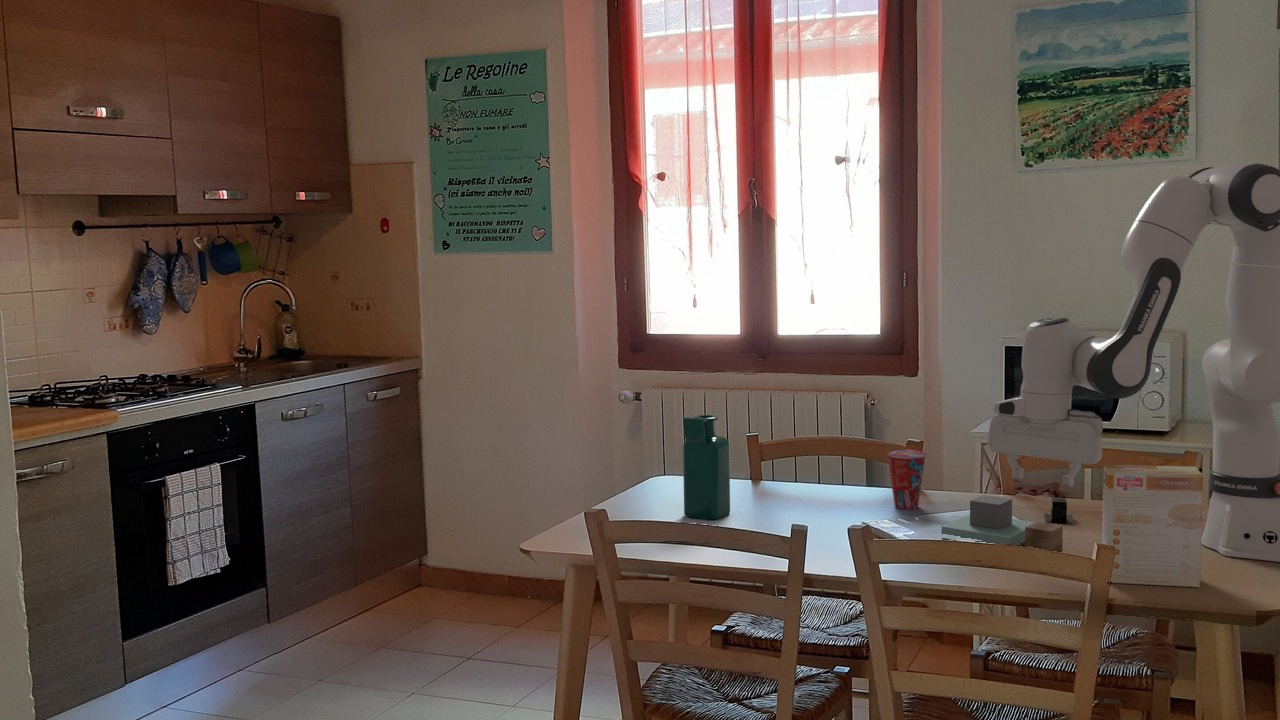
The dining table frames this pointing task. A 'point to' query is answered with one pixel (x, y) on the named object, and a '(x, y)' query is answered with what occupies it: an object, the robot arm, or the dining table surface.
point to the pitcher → (705, 470)
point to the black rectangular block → (1059, 512)
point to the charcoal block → (991, 512)
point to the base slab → (988, 531)
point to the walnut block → (1044, 536)
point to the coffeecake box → (1153, 523)
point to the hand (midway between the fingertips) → (1042, 481)
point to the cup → (906, 477)
